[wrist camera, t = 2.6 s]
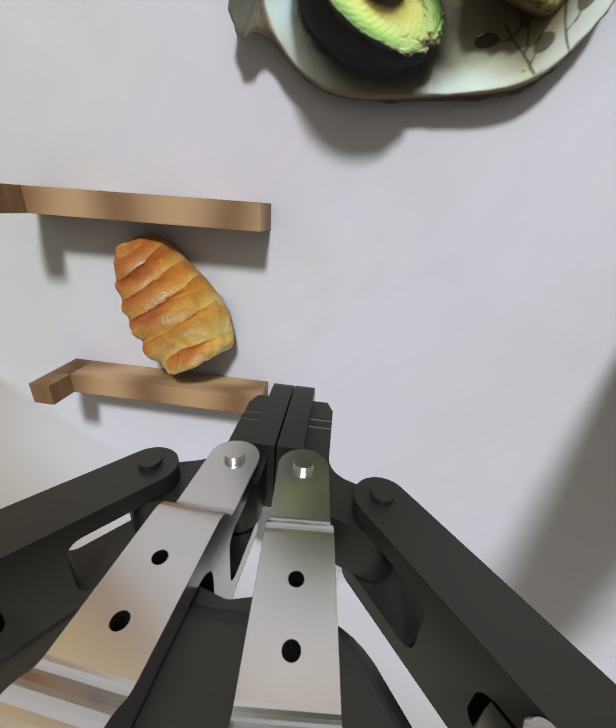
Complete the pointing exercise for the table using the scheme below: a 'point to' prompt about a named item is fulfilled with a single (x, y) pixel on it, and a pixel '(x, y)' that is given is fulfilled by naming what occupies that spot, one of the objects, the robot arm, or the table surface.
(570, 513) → the table surface
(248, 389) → the pair of wooden bars
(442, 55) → the salad plate
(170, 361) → the pastry
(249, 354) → the table surface
